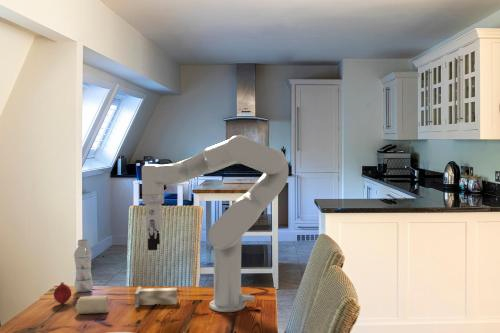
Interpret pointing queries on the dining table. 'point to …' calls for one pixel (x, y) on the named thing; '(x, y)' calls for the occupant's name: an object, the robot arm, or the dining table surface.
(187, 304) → the dining table surface
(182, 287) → the dining table surface
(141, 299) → the cream upright plaque
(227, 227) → the robot arm
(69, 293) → the onion
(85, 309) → the candle
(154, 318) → the dining table surface
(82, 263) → the plastic bottle
